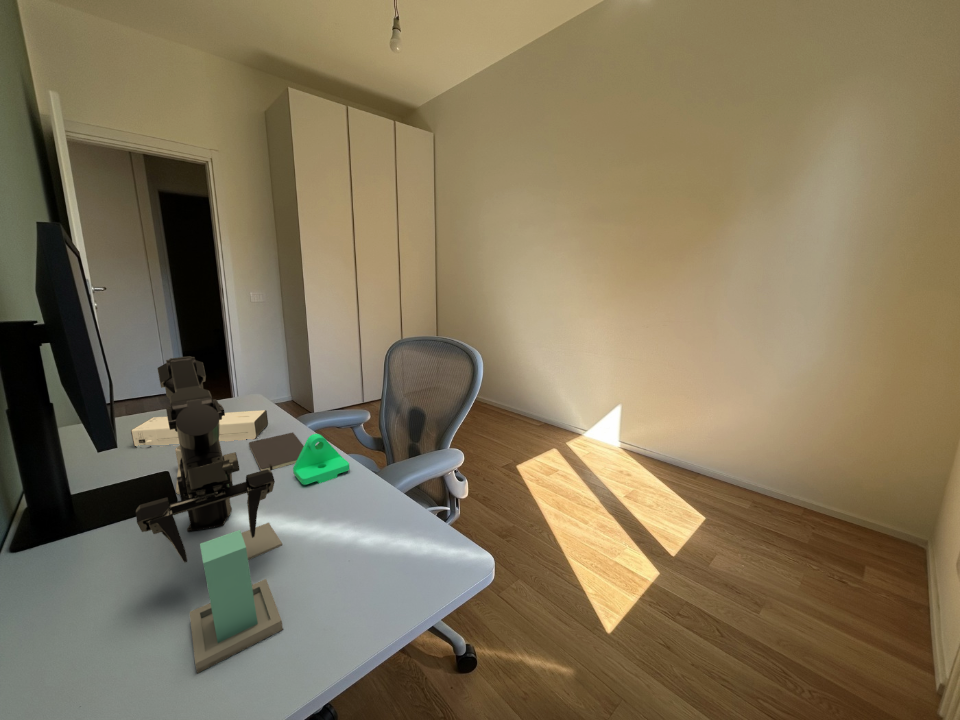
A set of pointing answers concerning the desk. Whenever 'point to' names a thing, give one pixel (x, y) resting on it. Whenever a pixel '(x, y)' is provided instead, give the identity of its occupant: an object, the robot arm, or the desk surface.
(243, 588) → the tall green square pillar
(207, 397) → the robot arm
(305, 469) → the green mounting bracket
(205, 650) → the shallow beige square tray
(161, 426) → the laminator
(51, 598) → the desk surface
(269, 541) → the lid
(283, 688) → the desk surface
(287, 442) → the notebook
